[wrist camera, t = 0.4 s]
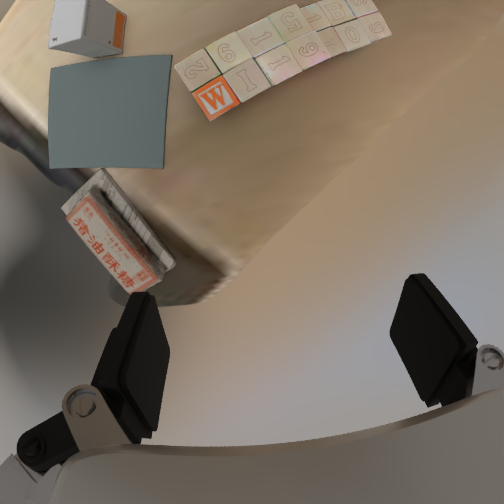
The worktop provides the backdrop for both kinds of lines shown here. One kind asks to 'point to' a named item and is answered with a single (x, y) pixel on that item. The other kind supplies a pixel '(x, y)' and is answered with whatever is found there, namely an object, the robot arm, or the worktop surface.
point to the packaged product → (117, 234)
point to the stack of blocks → (277, 50)
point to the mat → (109, 113)
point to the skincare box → (87, 28)
